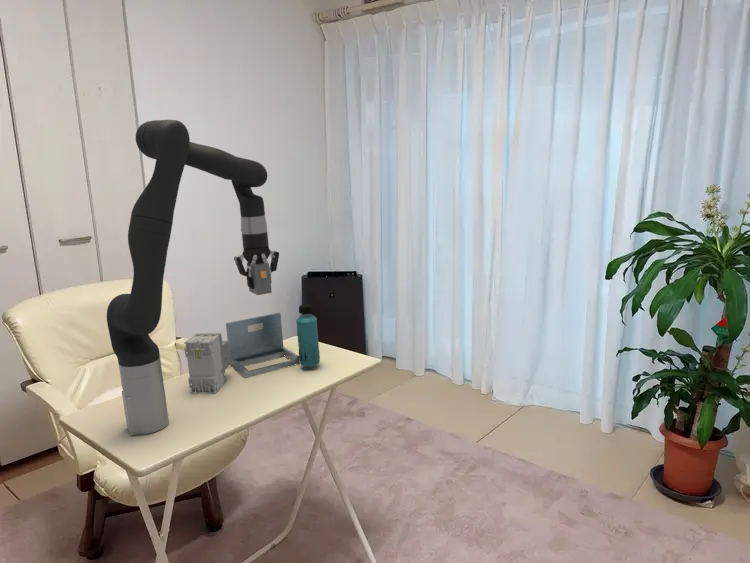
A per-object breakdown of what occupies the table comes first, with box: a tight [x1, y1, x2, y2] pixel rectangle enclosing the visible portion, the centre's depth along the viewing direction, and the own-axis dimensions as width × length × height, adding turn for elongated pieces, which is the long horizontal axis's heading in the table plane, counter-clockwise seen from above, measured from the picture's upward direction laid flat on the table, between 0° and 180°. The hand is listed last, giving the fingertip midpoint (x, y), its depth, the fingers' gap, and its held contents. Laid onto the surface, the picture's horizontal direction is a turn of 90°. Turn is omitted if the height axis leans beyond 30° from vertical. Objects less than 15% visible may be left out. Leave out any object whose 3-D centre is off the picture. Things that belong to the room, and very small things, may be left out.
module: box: [246, 262, 273, 296], centre depth 164 cm, size 4×8×9 cm, turn 33°
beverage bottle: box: [296, 303, 321, 367], centre depth 165 cm, size 6×7×20 cm
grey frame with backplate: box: [225, 312, 301, 379], centre depth 170 cm, size 18×13×14 cm
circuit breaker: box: [183, 332, 230, 395], centre depth 157 cm, size 8×14×15 cm, turn 174°
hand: (259, 286), depth 165 cm, fingers closed on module, 4 cm apart
